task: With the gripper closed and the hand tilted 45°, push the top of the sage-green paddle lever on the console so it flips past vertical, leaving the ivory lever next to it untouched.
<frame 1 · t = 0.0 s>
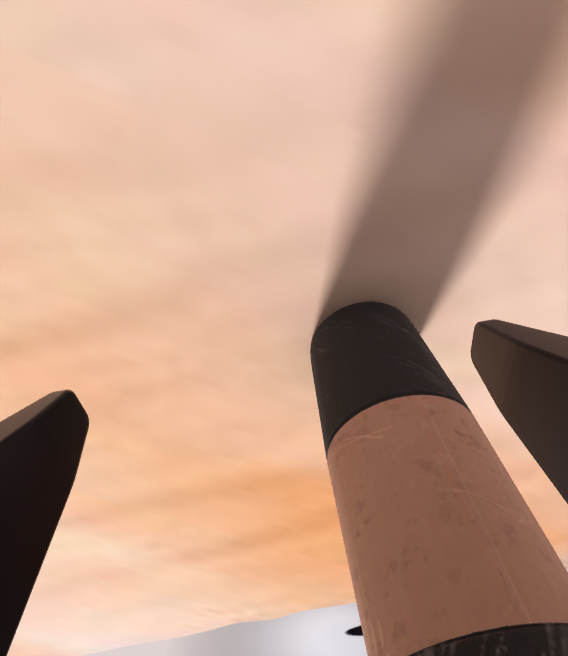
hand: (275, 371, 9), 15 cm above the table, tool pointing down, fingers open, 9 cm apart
travel mug: (361, 344, 28), on the table
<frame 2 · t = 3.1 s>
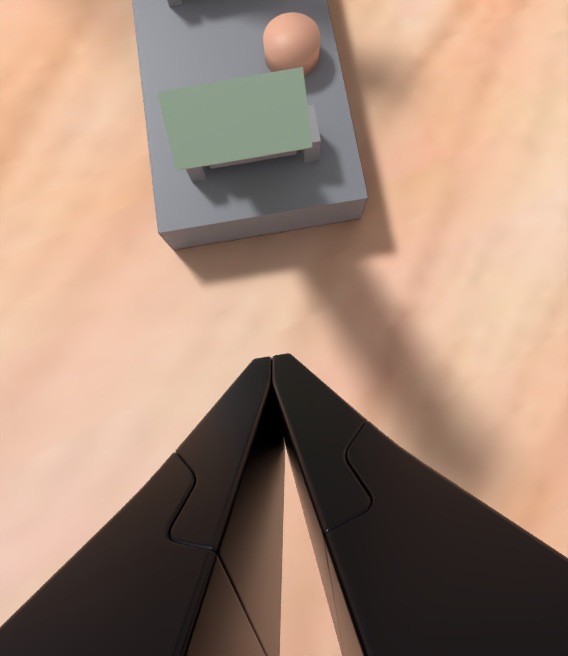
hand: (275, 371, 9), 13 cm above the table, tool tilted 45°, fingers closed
green lever: (246, 134, 16), point 8 cm above the table, hinge at -32.0°
console: (242, 83, 25), on the table
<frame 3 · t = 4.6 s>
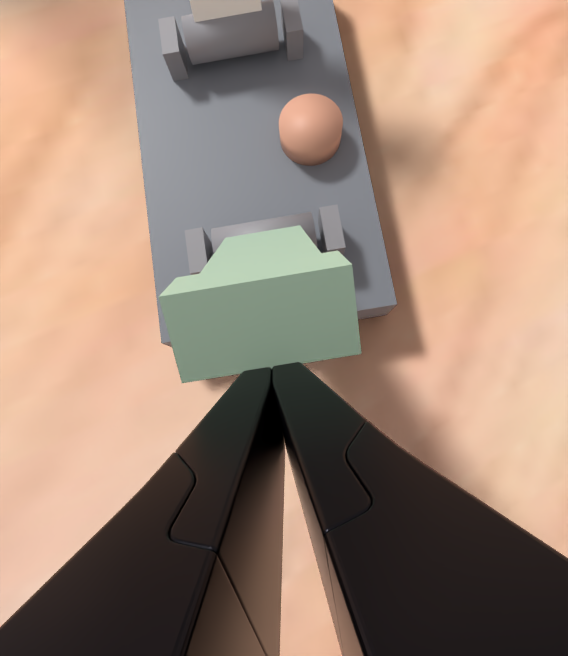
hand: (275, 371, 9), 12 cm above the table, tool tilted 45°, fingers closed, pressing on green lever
green lever: (264, 264, 14), point 8 cm above the table, hinge at -29.5°, touching gripper
console: (253, 158, 23), on the table
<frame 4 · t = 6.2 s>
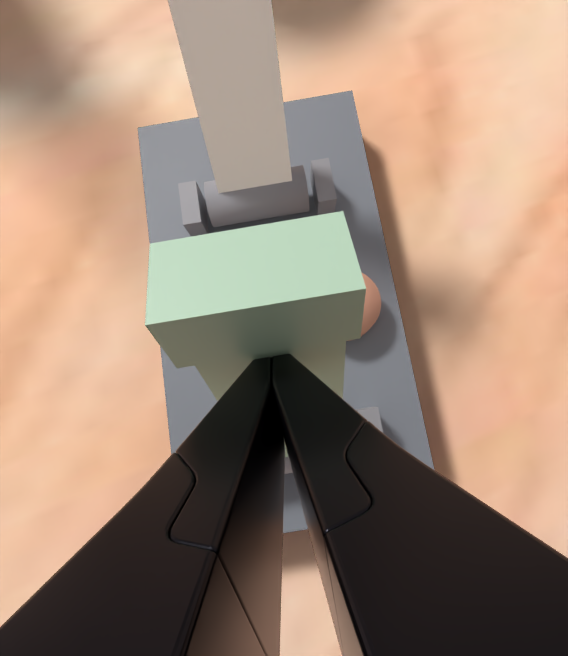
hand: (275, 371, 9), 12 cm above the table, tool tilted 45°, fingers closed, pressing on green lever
green lever: (284, 397, 12), point 8 cm above the table, hinge at 21.3°, touching gripper
console: (277, 310, 21), on the table
ivory lever: (233, 69, 15), point 8 cm above the table, hinge at 32.0°
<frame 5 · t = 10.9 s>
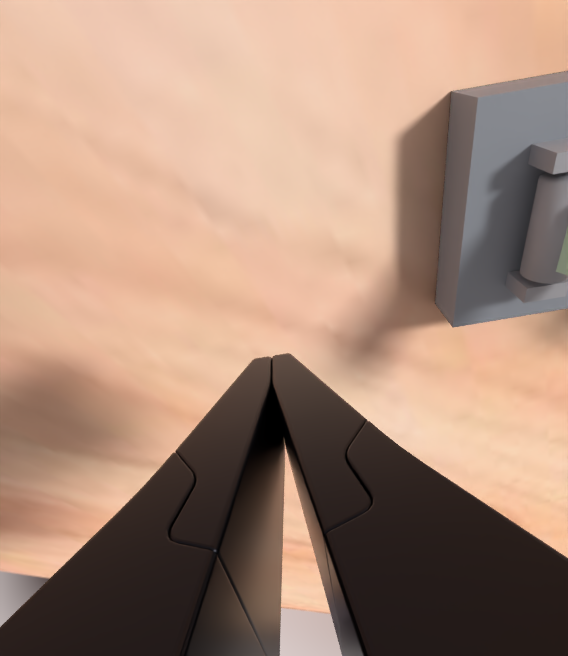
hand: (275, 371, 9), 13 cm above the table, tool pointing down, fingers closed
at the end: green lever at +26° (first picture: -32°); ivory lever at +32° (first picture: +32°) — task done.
